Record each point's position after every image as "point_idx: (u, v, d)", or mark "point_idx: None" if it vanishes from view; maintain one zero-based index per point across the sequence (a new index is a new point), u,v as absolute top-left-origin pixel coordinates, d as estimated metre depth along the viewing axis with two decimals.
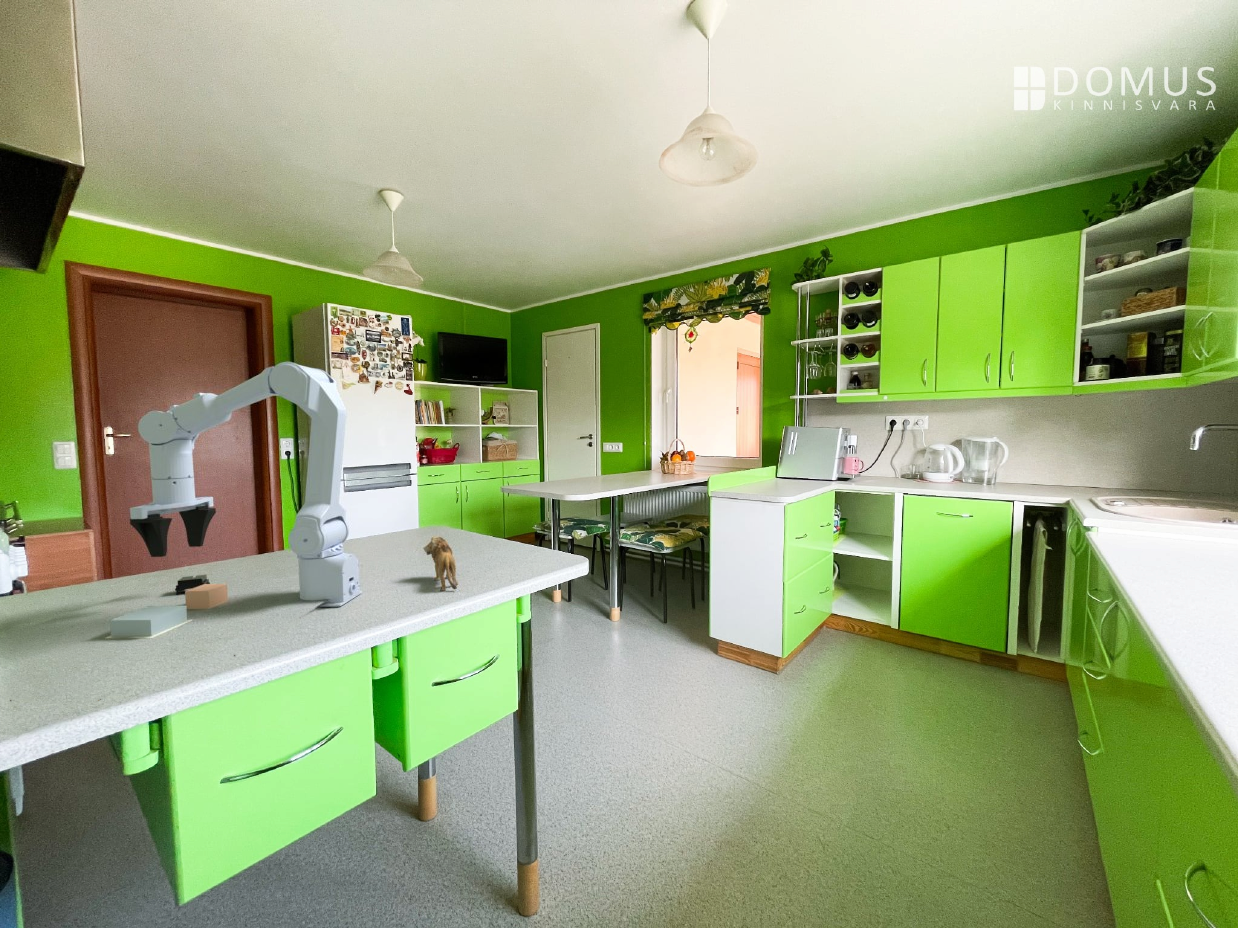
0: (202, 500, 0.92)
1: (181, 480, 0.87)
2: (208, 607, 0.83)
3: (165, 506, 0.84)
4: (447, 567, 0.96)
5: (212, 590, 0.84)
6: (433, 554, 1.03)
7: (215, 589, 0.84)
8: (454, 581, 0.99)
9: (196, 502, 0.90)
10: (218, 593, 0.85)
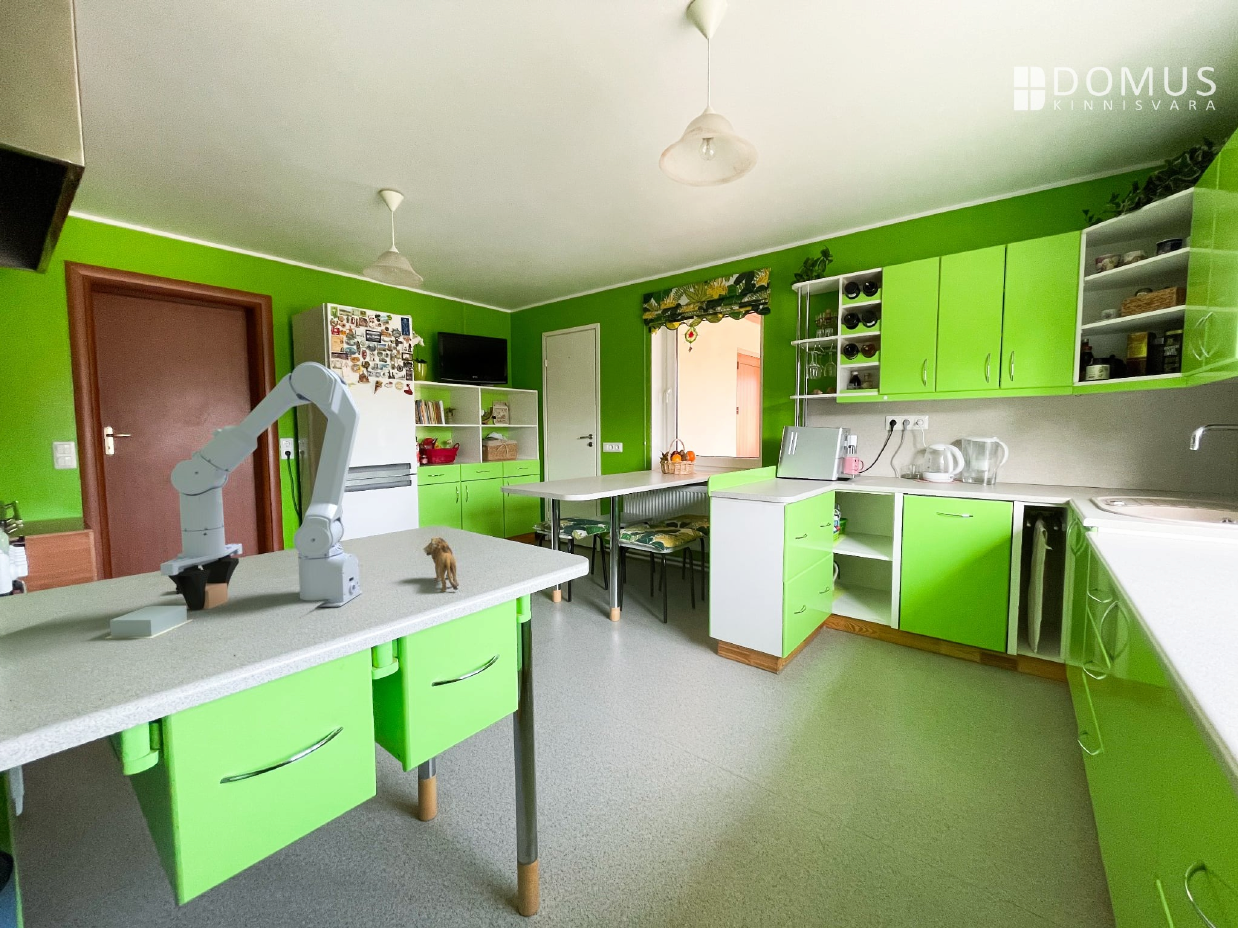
0: (232, 549, 0.88)
1: (212, 531, 0.83)
2: (208, 607, 0.83)
3: (196, 560, 0.81)
4: (448, 568, 0.96)
5: (212, 590, 0.84)
6: (433, 555, 1.03)
7: (215, 589, 0.84)
8: (455, 582, 0.98)
9: (226, 552, 0.86)
10: (218, 592, 0.85)
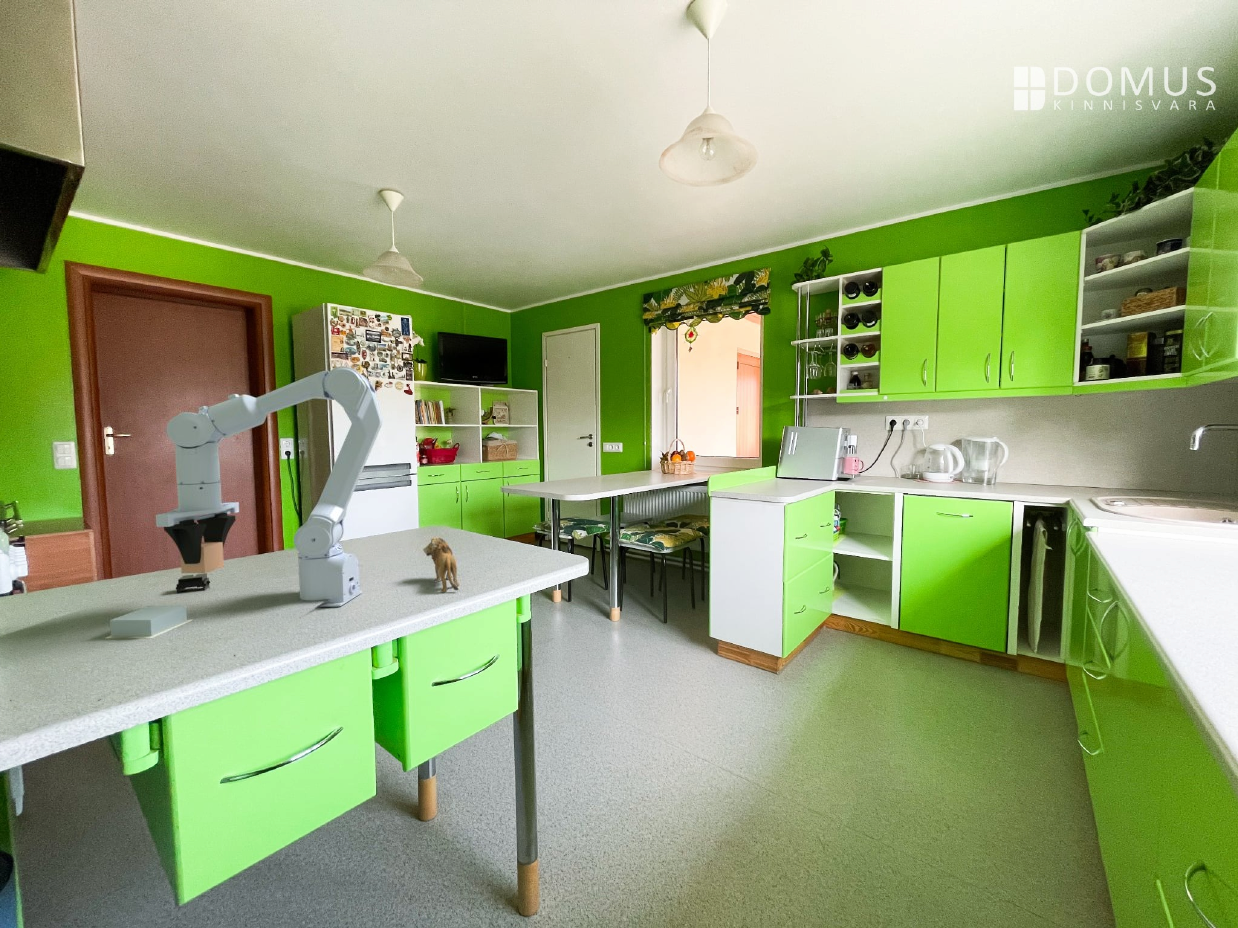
0: (228, 506, 0.87)
1: (208, 485, 0.82)
2: (203, 564, 0.82)
3: (192, 513, 0.80)
4: (448, 568, 0.96)
5: (207, 547, 0.83)
6: (433, 555, 1.02)
7: (210, 546, 0.84)
8: (455, 582, 0.98)
9: (223, 508, 0.85)
10: (214, 550, 0.84)
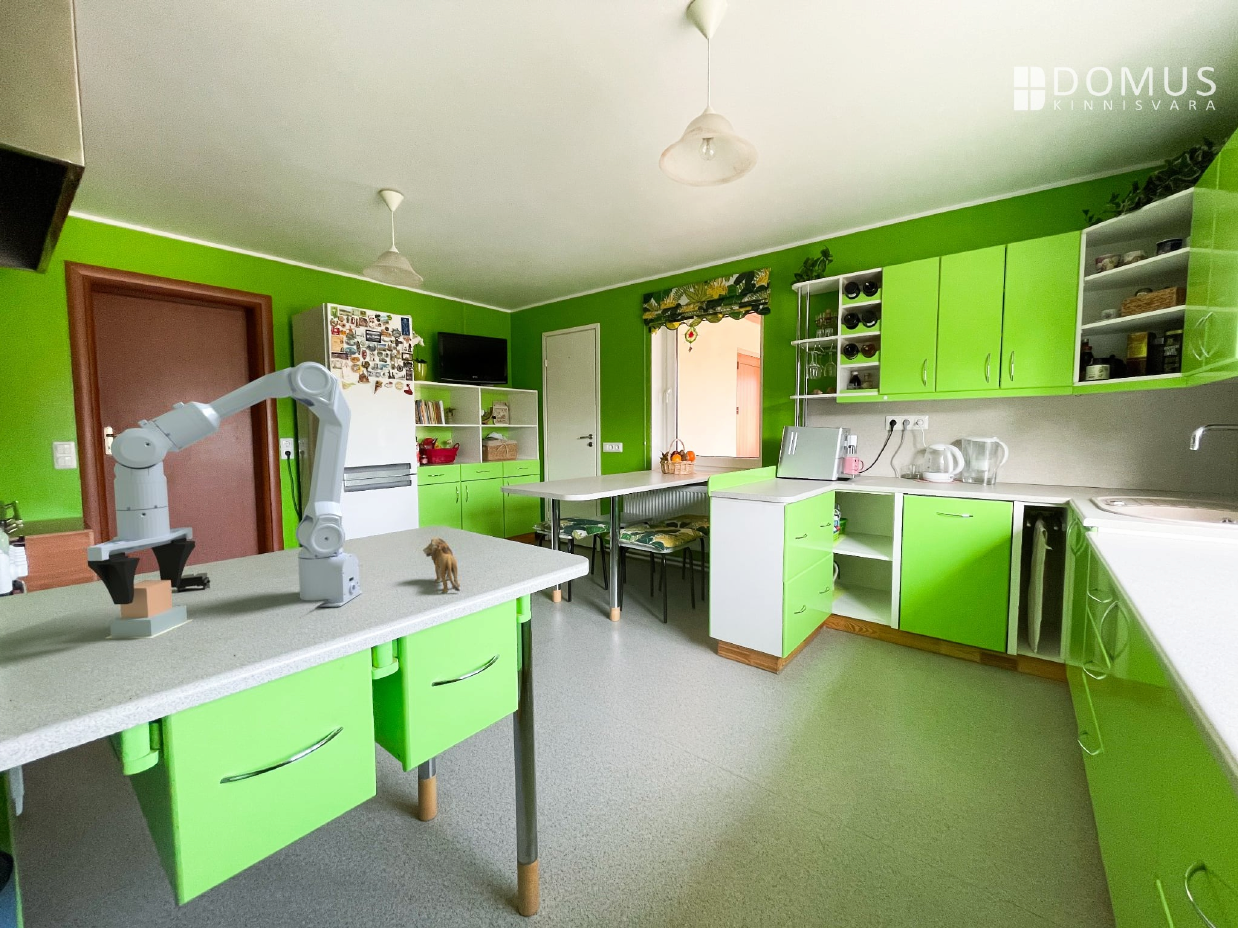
0: (178, 532, 0.77)
1: (152, 511, 0.72)
2: (146, 607, 0.72)
3: (131, 543, 0.70)
4: (449, 569, 0.95)
5: (151, 587, 0.73)
6: (433, 556, 1.02)
7: (155, 586, 0.74)
8: (456, 583, 0.98)
9: (171, 536, 0.75)
10: (160, 590, 0.74)
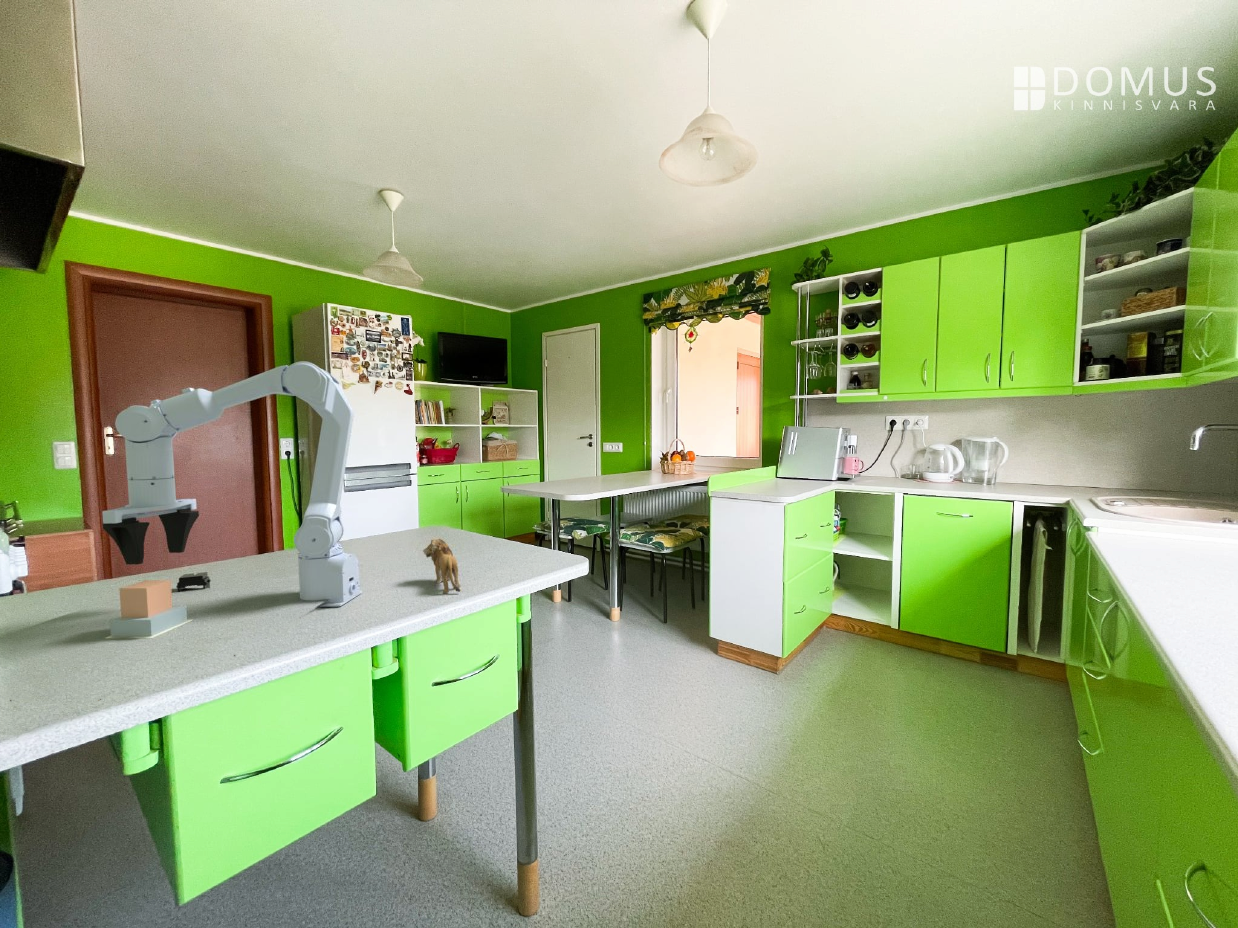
0: (184, 502, 0.85)
1: (160, 481, 0.80)
2: (146, 607, 0.72)
3: (142, 509, 0.78)
4: (450, 569, 0.95)
5: (151, 587, 0.73)
6: (433, 556, 1.01)
7: (155, 586, 0.74)
8: (456, 583, 0.97)
9: (177, 505, 0.83)
10: (160, 590, 0.74)
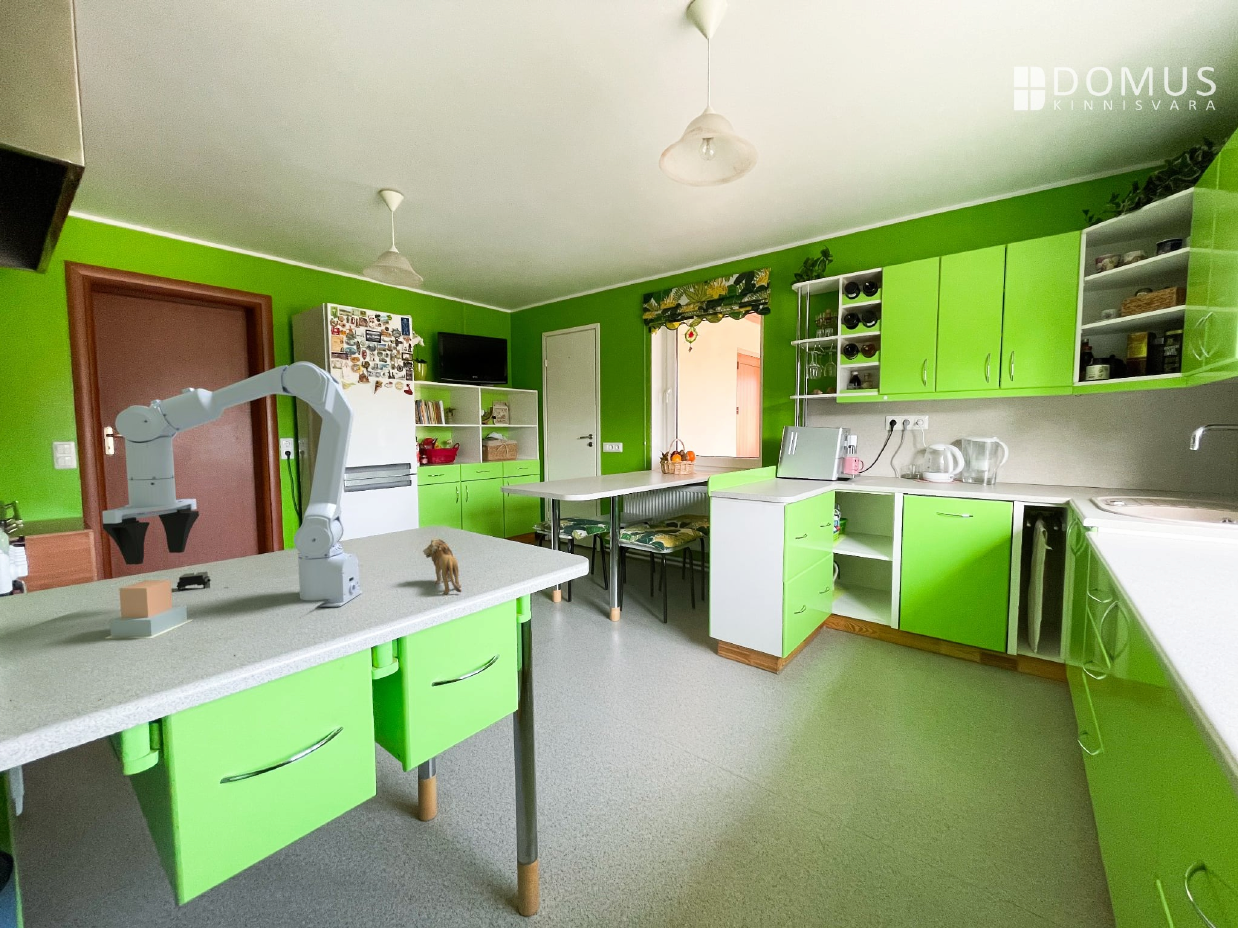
0: (184, 502, 0.85)
1: (160, 481, 0.80)
2: (146, 607, 0.72)
3: (142, 509, 0.78)
4: (451, 570, 0.94)
5: (151, 587, 0.73)
6: (433, 557, 1.01)
7: (155, 586, 0.74)
8: (457, 584, 0.97)
9: (177, 505, 0.83)
10: (160, 590, 0.74)
